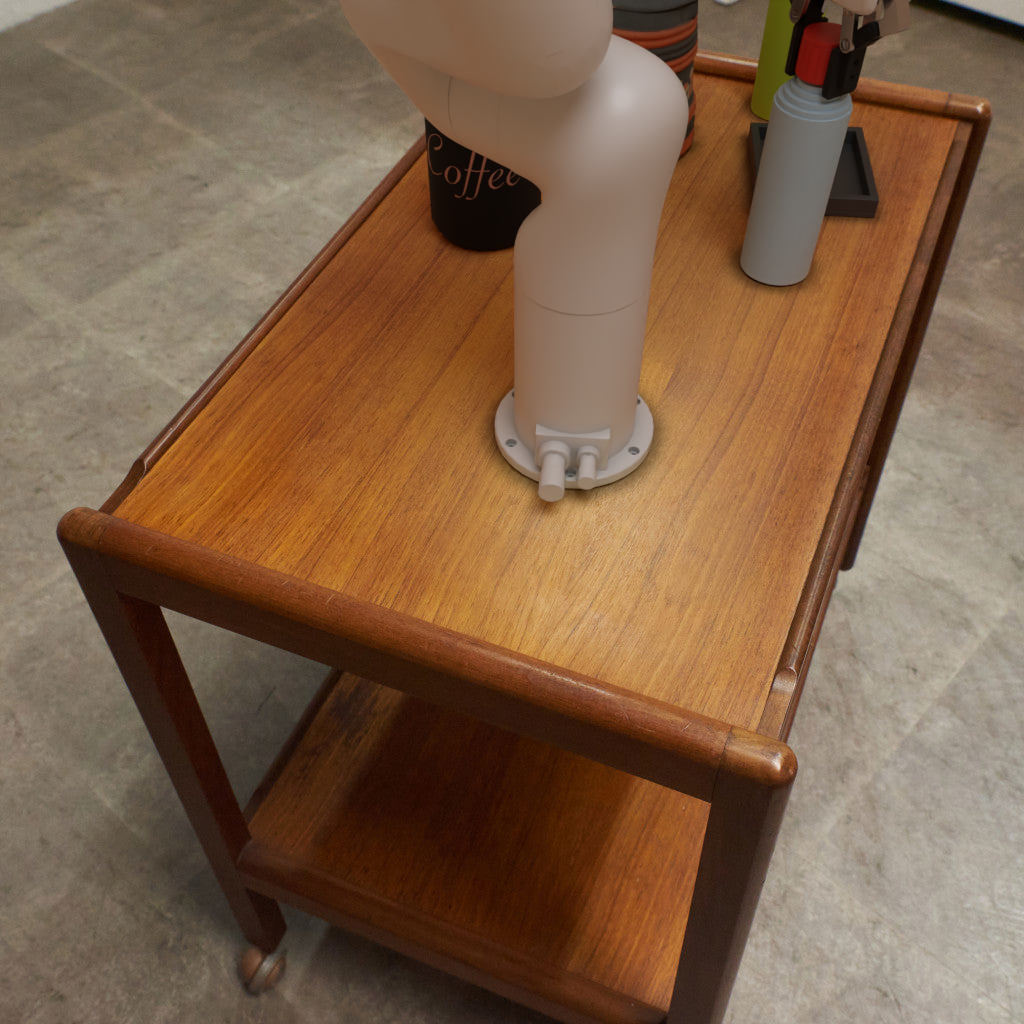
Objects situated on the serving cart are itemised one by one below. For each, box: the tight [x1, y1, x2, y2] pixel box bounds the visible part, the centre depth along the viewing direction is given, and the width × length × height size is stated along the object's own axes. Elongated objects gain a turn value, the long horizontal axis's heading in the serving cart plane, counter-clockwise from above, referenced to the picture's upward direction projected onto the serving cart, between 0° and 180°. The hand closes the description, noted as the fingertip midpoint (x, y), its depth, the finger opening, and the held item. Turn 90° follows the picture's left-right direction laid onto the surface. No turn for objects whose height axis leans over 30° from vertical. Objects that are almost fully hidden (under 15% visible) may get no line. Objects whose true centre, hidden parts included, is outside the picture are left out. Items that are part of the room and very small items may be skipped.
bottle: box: [739, 75, 854, 286], centre depth 91 cm, size 6×6×21 cm
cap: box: [795, 21, 841, 85], centre depth 84 cm, size 4×4×3 cm
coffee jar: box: [423, 116, 542, 253], centre depth 97 cm, size 11×11×18 cm
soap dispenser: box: [750, 0, 829, 122], centre depth 111 cm, size 6×7×20 cm
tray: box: [747, 121, 880, 219], centre depth 108 cm, size 14×12×2 cm
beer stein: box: [611, 0, 699, 159], centre depth 107 cm, size 19×15×20 cm
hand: (819, 80), depth 86 cm, fingers closed on cap, 3 cm apart
